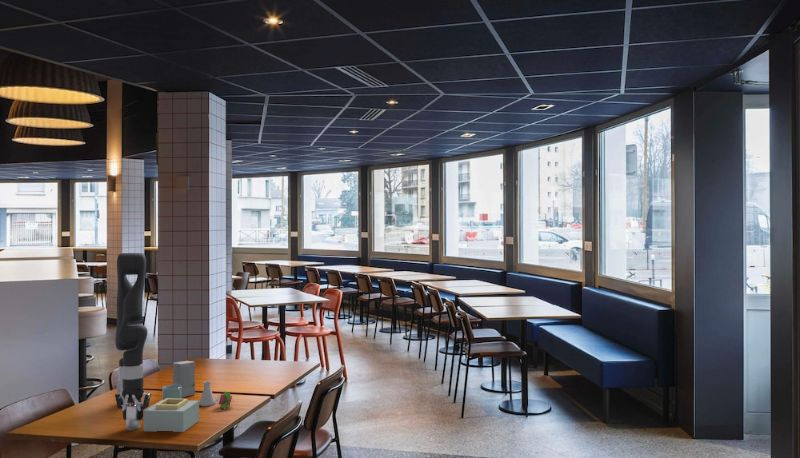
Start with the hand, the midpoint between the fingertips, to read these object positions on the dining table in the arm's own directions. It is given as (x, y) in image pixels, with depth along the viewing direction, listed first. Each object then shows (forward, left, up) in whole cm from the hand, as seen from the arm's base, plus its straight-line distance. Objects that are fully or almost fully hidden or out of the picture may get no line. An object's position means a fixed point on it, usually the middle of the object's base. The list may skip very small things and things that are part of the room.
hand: (133, 419), depth 228 cm
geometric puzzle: (+26, +29, -4) cm, 39 cm away
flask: (+16, +33, -4) cm, 37 cm away
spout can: (0, 0, -3) cm, 3 cm away
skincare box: (-1, +46, -4) cm, 46 cm away
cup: (+4, +24, -4) cm, 25 cm away
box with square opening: (+14, +4, -3) cm, 15 cm away
